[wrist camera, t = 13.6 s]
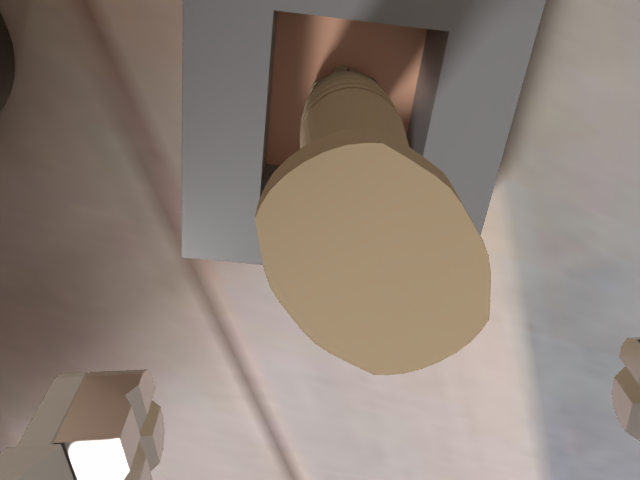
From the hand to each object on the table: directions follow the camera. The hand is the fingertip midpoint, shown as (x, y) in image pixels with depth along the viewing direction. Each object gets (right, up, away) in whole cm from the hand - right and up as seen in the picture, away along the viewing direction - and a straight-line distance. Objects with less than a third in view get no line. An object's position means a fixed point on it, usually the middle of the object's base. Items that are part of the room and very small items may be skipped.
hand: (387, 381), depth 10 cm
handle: (0, +9, +17) cm, 19 cm away
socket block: (0, +9, +17) cm, 19 cm away
